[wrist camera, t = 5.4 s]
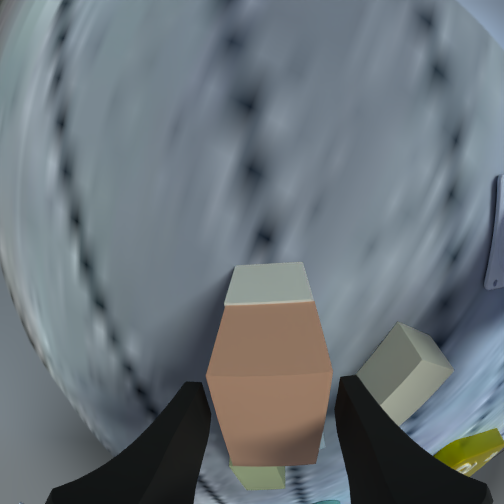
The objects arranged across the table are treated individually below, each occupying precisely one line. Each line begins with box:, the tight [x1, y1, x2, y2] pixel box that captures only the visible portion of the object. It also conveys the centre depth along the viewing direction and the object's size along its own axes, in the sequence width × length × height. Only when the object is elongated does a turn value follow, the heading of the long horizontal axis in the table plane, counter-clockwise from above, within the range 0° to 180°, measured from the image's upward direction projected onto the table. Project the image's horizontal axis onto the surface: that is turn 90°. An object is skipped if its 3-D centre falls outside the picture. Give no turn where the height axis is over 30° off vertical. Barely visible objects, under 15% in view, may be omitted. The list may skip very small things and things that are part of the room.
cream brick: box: [355, 322, 454, 426], centre depth 15 cm, size 6×4×4 cm, turn 155°
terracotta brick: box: [206, 301, 333, 467], centre depth 10 cm, size 6×4×4 cm, turn 5°
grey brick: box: [224, 262, 313, 306], centre depth 14 cm, size 6×4×4 cm, turn 5°
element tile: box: [433, 428, 504, 477], centre depth 22 cm, size 15×15×5 cm
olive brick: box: [229, 458, 285, 490], centre depth 18 cm, size 6×4×4 cm, turn 12°
